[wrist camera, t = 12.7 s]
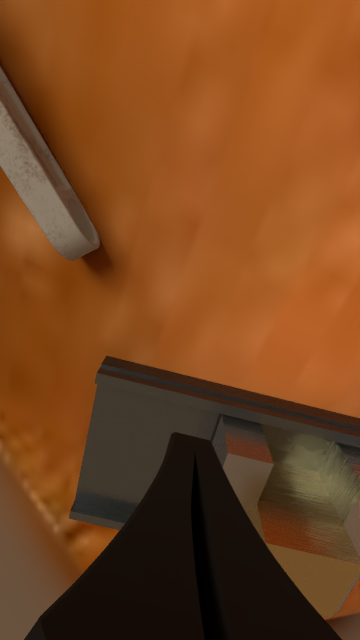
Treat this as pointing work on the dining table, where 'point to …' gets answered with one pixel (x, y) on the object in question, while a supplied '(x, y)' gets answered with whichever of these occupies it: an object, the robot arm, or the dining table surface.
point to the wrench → (41, 179)
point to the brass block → (307, 536)
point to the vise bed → (202, 421)
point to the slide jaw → (243, 458)
